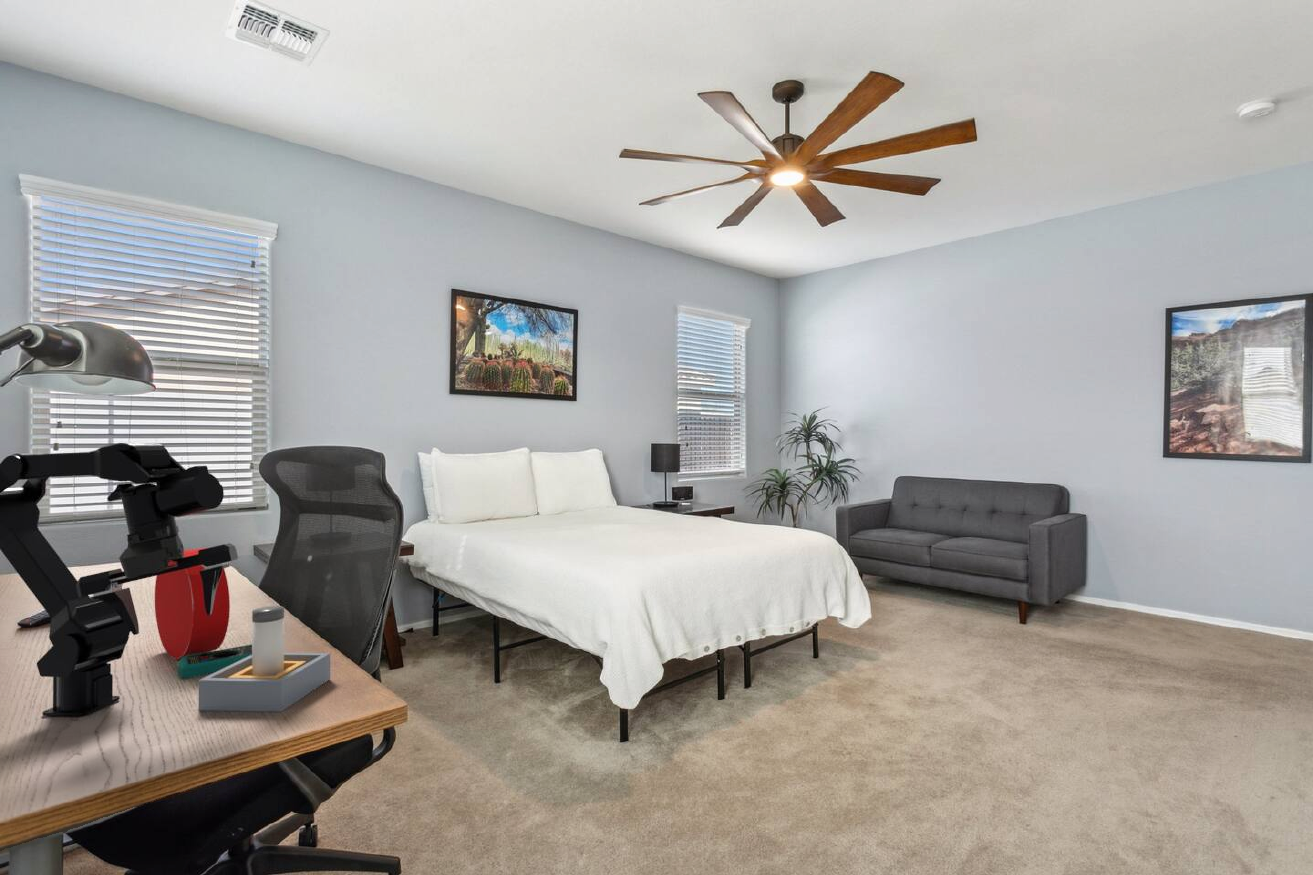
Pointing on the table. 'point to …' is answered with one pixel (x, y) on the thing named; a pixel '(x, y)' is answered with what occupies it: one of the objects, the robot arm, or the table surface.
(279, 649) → the grey capped shaker bottle
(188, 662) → the digital multimeter
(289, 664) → the box
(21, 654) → the table surface
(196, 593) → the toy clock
